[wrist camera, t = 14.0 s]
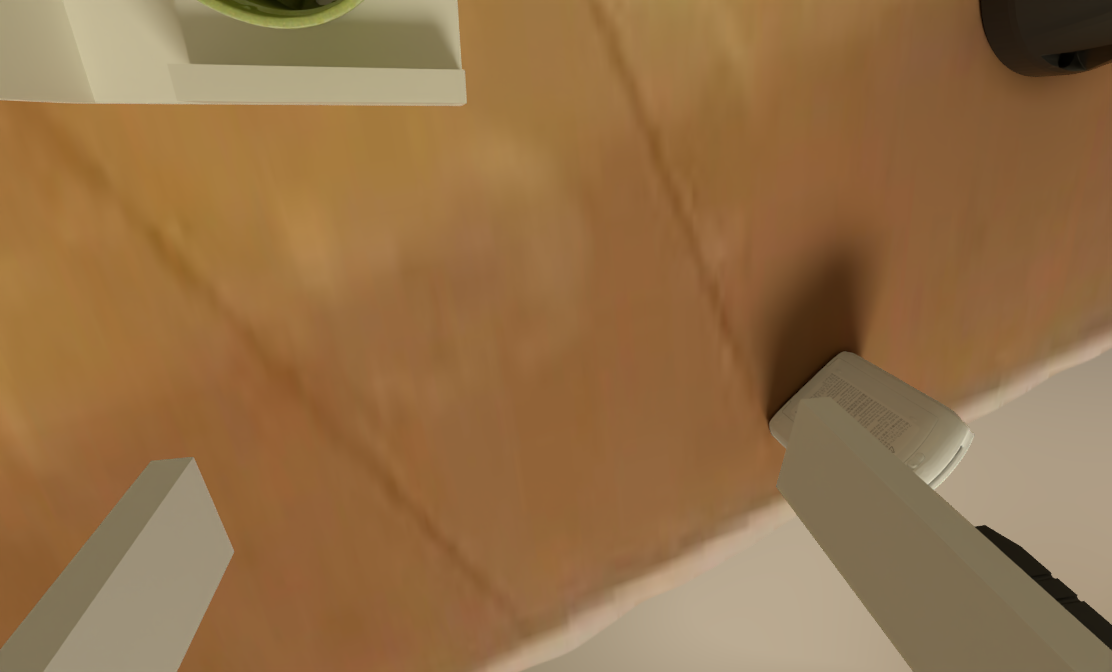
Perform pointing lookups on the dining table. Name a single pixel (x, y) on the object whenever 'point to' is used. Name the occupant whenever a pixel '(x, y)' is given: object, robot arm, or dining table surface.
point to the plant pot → (282, 11)
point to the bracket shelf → (228, 55)
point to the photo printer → (886, 415)
